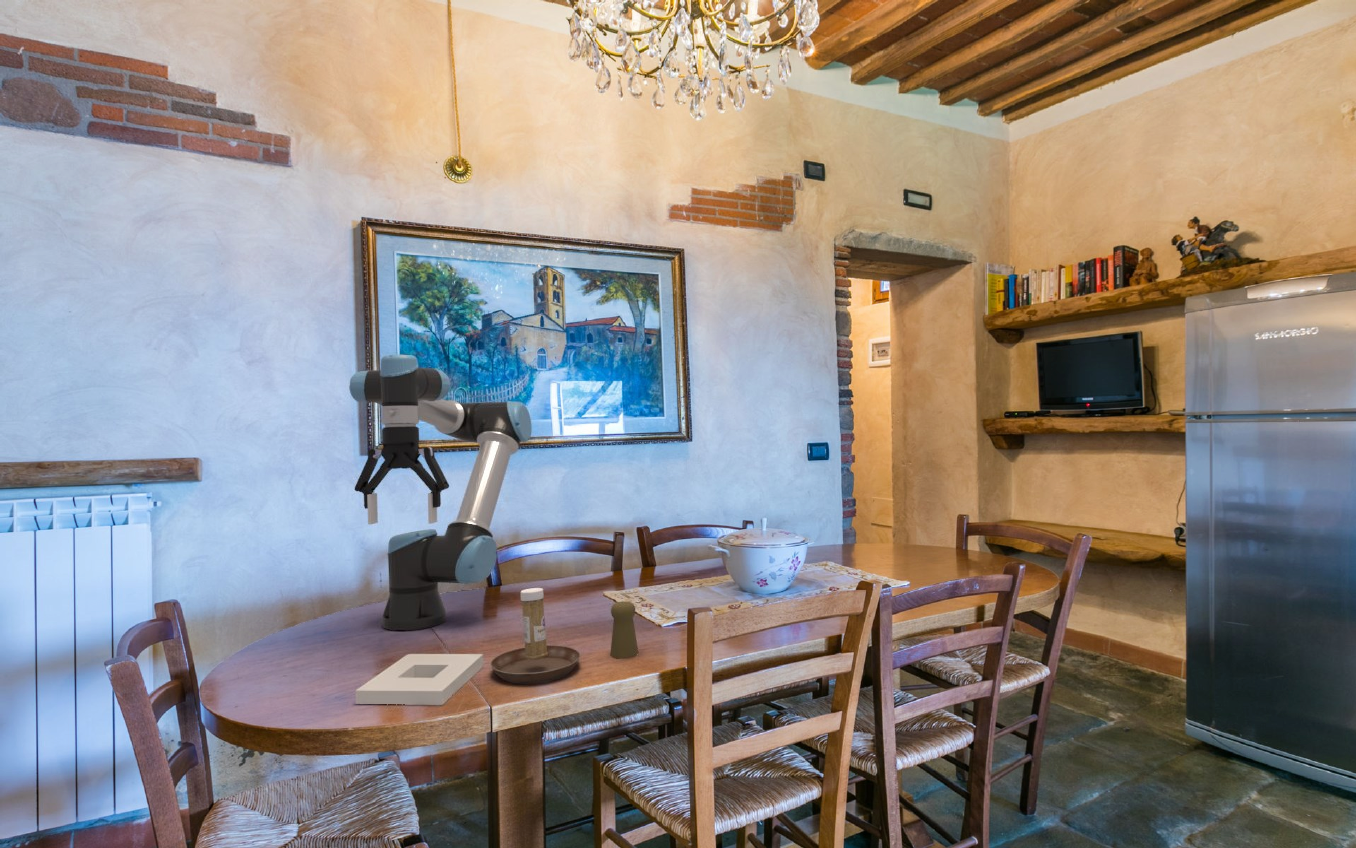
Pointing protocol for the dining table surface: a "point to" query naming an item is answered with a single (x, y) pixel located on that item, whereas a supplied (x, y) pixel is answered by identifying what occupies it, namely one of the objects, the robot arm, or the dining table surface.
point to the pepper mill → (623, 631)
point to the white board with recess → (420, 679)
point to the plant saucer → (535, 665)
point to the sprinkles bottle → (534, 623)
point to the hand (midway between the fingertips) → (402, 523)
